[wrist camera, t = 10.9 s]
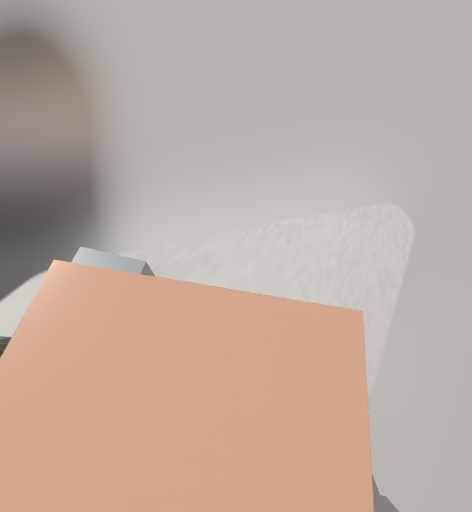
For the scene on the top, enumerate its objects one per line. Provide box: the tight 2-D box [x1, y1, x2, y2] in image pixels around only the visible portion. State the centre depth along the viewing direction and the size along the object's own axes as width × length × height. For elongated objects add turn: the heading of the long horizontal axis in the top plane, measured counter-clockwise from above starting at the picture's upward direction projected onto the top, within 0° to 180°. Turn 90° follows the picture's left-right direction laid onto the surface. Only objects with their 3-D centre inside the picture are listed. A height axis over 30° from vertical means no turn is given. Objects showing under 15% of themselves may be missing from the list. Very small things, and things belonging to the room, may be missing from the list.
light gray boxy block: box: [71, 247, 155, 276], centre depth 27 cm, size 6×6×10 cm
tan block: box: [0, 260, 374, 512], centre depth 8 cm, size 6×6×10 cm
